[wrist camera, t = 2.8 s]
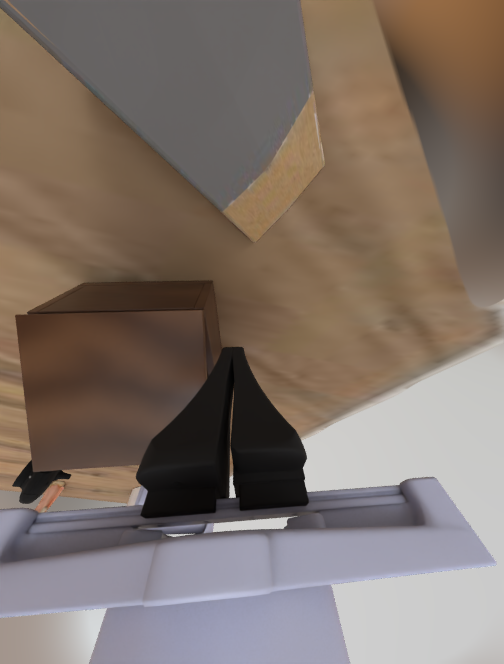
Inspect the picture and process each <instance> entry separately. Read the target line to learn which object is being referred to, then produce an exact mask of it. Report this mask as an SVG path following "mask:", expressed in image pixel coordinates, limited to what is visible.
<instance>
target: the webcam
mask: <svg viewBox="0 0 504 664" xmlns="http://www.w3.org/2000/svg"><path fill="white" fill-rule="evenodd" d="M70 477H71V474H67V473H64V472H63V471H62V470H55V471H40V472H33V466H32V460H31V461H30V462H29V463H28V464H27V466H26V467H25V468H24V469H23V471H22V472H21V473H20V475H19V476H18V477H17V479H16V480H15V482H14V484H13V486H15V487H20V488H21V489H22V492H21V495H20V500H19V501H20V502H21V503H23V504H24V503H25V504H29V503H32V502H33V501H34V500H36V499H37V498H38V497H40V495H42V494H43V493H44V492H45V490H46V489H47V488H48V487H49V486H50V484H51V483H52V482H53V481H55V480H58V479H69V478H70Z"/></svg>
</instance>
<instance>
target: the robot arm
mask: <svg viewBox="0 0 504 664" xmlns="http://www.w3.org/2000/svg"><path fill="white" fill-rule="evenodd" d="M233 390H234V402H233V419H232V432H231V452H232V459H233V485H234V488H235V494H236V498H229V476H230V419H231V408H232V399H233ZM306 459H307V456H306V452H305V449H304V446H303V444H302V442H301V439H300V437H299V435H298V434H297V432H296V430H295V429H294V428H293V427H292V426H291V425H290V424H289V423H288V422H287V421H286V420H285V419H284V418H283V416H282V415H281V414H280V413H279V412H278V411H277V409H276V408H275V407H274V406H273V404H272V403H271V402H270V401H269V399H268V398H267V396H266V395H265V394H264V392H263V391H262V389H261V387H260V386H259V384H258V383H257V381H256V379H255V377H254V375H253V373H252V371H251V369H250V367H249V365H248V362H247V360H246V357H245V353H244V348H243V347H226V348H223V349H222V351H221V354H220V356H219V358H218V360H217V363H216V364H215V366H214V368H213V370H212V372H211V373H210V375H209V376H208V378H207V380H206V381H205V383H204V384H203V386H202V387H201V388H200V390H199V391H198V392H197V394H196V395H195V396H194V397H193V399H192V400H191V401H190V402H189V403H188V405H187V406H186V407H185V408H184V409H183V410H182V411H181V412H180V413H179V414H178V415H177V416H176V417H175V418H174V419H173V420H172V421H171V422H170V423H169V424H168V425H167V426H166V427H165V428H164V429H163V430H162V431H161V432H159V433H158V434H157V435H156V436H155V437H154V438H153V439H152V440H151V442H150V444H149V446H148V447H147V450H146V452H145V454H144V456H143V458H142V461H141V463H140V466H139V469H138V471H137V474H136V479H137V481H138V482H139V483H140V484H141V488H140V490H139V493H138V496H137V499H136V502H135V505H134V506H122V507H108V508H97V509H82V510H70V511H57V512H43V513H38V511H36V510H33V509H29V508H11V509H0V618H3V617H15V616H26V615H37V614H48V613H57V612H58V613H59V612H70V611H80V610H91V609H102V608H107V610H106V613H105V616H104V619H103V622H102V625H101V628H100V632H99V635H98V638H97V641H96V644H95V647H94V650H93V653H92V656H91V659H90V662H89V664H350V661H349V657H348V653H347V649H346V645H345V640H344V636H343V632H342V628H341V624H340V620H339V616H338V611H337V607H336V603H335V599H334V595H333V591H332V587H331V584H340V583H348V582H356V581H365V580H374V579H382V578H391V577H398V576H408V575H417V574H425V573H434V572H442V571H451V570H460V569H468V568H478V567H488V566H496V561H495V560H494V558H493V557H492V556H491V554H490V553H489V552H488V550H487V549H486V547H485V546H484V544H483V543H482V542H481V540H480V539H479V537H478V536H477V534H476V533H475V532H474V530H473V529H472V528H471V526H470V525H469V523H468V522H467V521H466V519H465V518H464V516H463V515H462V514H461V512H460V511H459V509H458V508H457V507H456V505H455V504H454V502H453V501H452V500H451V499H450V497H449V495H448V494H447V493H446V491H445V490H444V488H443V487H442V486H441V484H440V483H439V482H438V480H437V479H436V478H435V477H425V478H412V479H407V480H405V481H403V482H401V483H400V485H396V486H382V487H369V488H356V489H343V490H330V491H317V492H307V491H306V487H305V482H304V480H305V476H304V472H303V466H304V464H305V462H306ZM293 516H298V517H293ZM281 517H293V518H289V519H288V520H287V526H286V527H284V529H261V530H239V531H224V532H213V526H214V523H221V522H233V521H245V520H256V519H269V518H281ZM165 534H194V535H185V536H179V537H171V536H167V535H165Z"/></svg>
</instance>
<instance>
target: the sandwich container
mask: <svg viewBox="0 0 504 664" xmlns="http://www.w3.org/2000/svg"><path fill="white" fill-rule="evenodd" d="M0 8H1V9H2V10H3V11H4V12H6V13H7V14H8V15H9V16H10V17H11V18H12V19H13V20H14V21H15V22H16V23H17V24H19V25H20V26H21V27H22V28H23V29H24V30H25V31H26V32H27V33H28V34H29V35H30V36H32V37H33V38H34V39H35V40H36V41H37V42H38V43H39V44H40V45H41V46H42V47H43V48H45V49H46V50H47V51H48V52H49V53H50V54H51V55H52V56H53V57H54V58H55V59H56V60H57V61H59V62H60V63H61V64H62V65H63V66H64V67H65V68H66V69H67V70H68V71H69V72H70V73H72V74H73V75H74V76H75V77H76V78H77V79H78V80H79V81H80V82H81V83H82V84H83V85H85V86H86V87H87V88H88V89H89V90H90V91H91V92H92V93H93V94H94V95H95V96H96V97H97V98H99V99H100V100H101V101H102V102H103V103H104V104H105V105H106V106H107V107H108V108H109V109H110V110H112V111H113V112H114V113H115V114H116V115H117V116H118V117H119V118H120V119H121V120H122V121H123V122H124V123H126V124H127V125H128V126H129V127H130V128H131V129H132V130H133V131H134V132H135V133H136V134H137V135H139V136H140V137H141V138H142V139H143V140H144V141H145V142H146V143H147V144H148V145H149V146H150V147H152V148H153V149H154V150H155V151H156V152H157V153H158V154H159V155H160V156H161V157H162V158H163V159H165V160H166V161H167V162H168V163H169V164H170V165H171V166H172V167H173V168H174V169H175V170H176V171H177V172H179V173H180V174H181V175H182V176H183V177H184V178H185V179H186V180H187V181H188V182H189V183H190V184H192V185H193V186H194V187H195V188H196V189H197V190H198V191H199V192H200V193H201V194H202V195H203V196H205V197H206V198H207V199H208V200H209V201H210V202H211V203H212V204H213V205H214V206H215V207H216V208H217V209H219V210H220V211H221V212H222V213H223V214H224V215H225V216H226V217H227V218H228V219H229V220H230V221H231V222H232V223H233V224H235V225H236V226H237V227H238V228H239V229H240V230H241V231H242V232H243V233H244V234H245V235H246V236H247V237H248V238H249V239H251V240H252V241H253V242H254V243H256V242H257V241H258V240H259V239H260V238H261V236H262V235H263V234H264V233H265V232H266V231H267V230H268V229H269V228H270V227H271V226H272V225H273V224H274V223H275V222H276V221H277V220H278V219H279V218H280V217H281V216H282V215H283V214H284V213H285V212H286V211H287V210H288V209H289V207H290V206H291V205H292V204H293V203H294V201H295V200H296V199H297V198H298V197H299V195H300V194H301V193H302V192H303V191H304V189H305V188H306V187H307V186H308V184H309V183H310V182H311V181H312V180H313V178H314V177H315V176H316V175H317V174H318V172H319V171H320V170H321V169H322V168H323V166H324V165H325V162H324V156H323V149H322V143H321V136H320V130H319V123H318V117H317V110H316V103H315V97H314V90H313V84H312V77H311V70H310V63H309V56H308V49H307V42H306V35H305V29H304V22H303V15H302V8H301V1H300V0H0Z"/></svg>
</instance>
